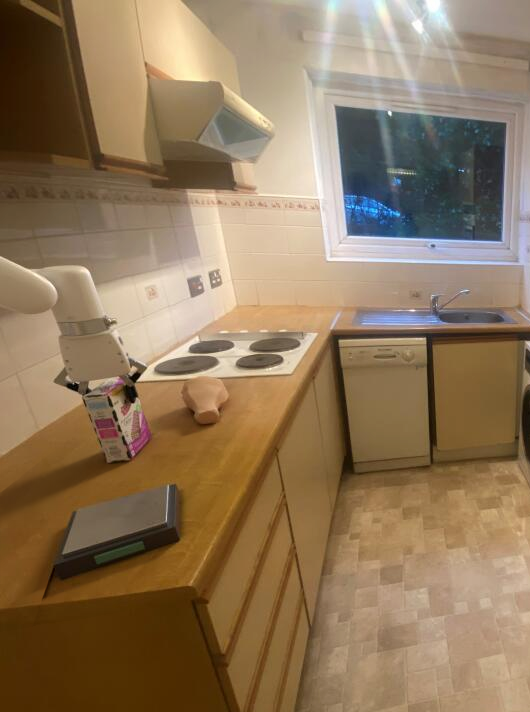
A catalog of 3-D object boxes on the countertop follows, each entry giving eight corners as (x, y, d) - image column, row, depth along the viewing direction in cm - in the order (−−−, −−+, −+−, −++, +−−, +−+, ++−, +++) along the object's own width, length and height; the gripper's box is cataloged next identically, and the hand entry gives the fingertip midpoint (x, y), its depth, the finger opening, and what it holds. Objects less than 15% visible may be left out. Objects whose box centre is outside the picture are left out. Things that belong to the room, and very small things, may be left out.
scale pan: (63, 558, 67) (61, 554, 67) (79, 512, 77) (77, 508, 77) (167, 525, 74) (166, 521, 74) (169, 487, 84) (168, 484, 83)
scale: (60, 582, 67) (52, 567, 65) (78, 525, 78) (72, 511, 77) (179, 542, 74) (174, 528, 73) (180, 495, 86) (176, 483, 85)
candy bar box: (134, 460, 98) (108, 394, 91) (106, 464, 96) (78, 397, 90) (154, 437, 108) (132, 375, 101) (130, 440, 106) (106, 378, 100)
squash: (226, 395, 131) (225, 368, 128) (234, 429, 118) (234, 399, 114) (181, 398, 125) (179, 370, 121) (185, 434, 111) (182, 403, 108)
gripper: (138, 317, 98) (163, 390, 105) (31, 329, 89) (65, 408, 96) (136, 324, 92) (161, 401, 99) (21, 337, 83) (58, 421, 90)
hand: (114, 404), depth 97 cm, fingers closed on candy bar box, 6 cm apart
